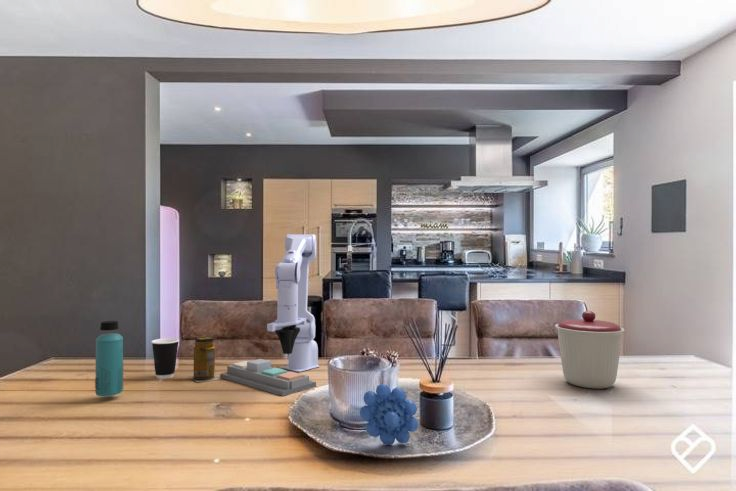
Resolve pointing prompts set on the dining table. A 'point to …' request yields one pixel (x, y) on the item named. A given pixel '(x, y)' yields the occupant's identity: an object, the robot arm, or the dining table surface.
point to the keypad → (267, 381)
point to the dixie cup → (165, 356)
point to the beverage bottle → (109, 361)
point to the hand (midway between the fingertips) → (287, 353)
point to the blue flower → (389, 414)
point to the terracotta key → (290, 376)
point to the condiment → (204, 360)
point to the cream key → (241, 364)
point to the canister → (589, 351)
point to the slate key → (258, 365)
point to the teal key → (274, 372)
